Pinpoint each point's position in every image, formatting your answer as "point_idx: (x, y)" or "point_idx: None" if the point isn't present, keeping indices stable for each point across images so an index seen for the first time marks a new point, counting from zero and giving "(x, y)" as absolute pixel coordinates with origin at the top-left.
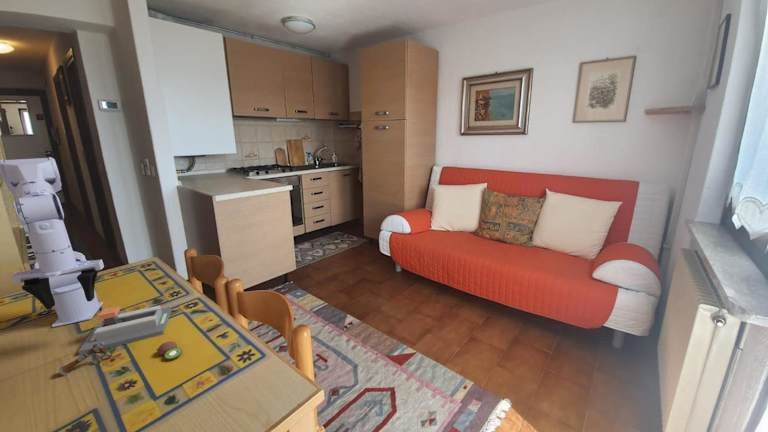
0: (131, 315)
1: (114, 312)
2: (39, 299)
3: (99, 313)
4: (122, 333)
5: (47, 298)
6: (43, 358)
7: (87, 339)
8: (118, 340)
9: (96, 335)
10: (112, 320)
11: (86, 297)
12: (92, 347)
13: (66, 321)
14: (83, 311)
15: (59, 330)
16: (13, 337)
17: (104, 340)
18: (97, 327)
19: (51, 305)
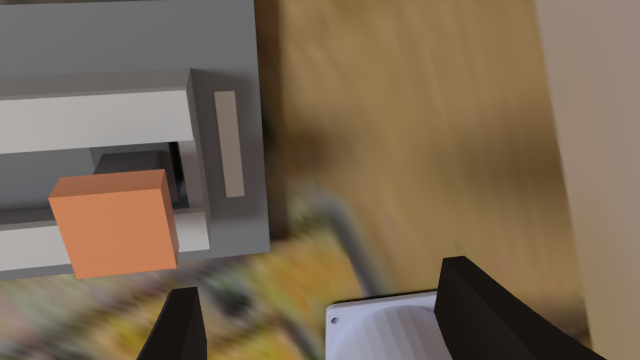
0: (47, 223)
1: (50, 196)
2: (544, 325)
3: (165, 216)
4: (48, 78)
5: (488, 344)
6: (417, 51)
7: (255, 113)
8: (48, 19)
9: (180, 82)
10: (106, 172)
11: (183, 315)
12: (185, 7)
13: (413, 308)
14: (360, 345)
15: (423, 262)
16: (561, 267)
17: (147, 60)
18: (254, 214)
19: (447, 290)
